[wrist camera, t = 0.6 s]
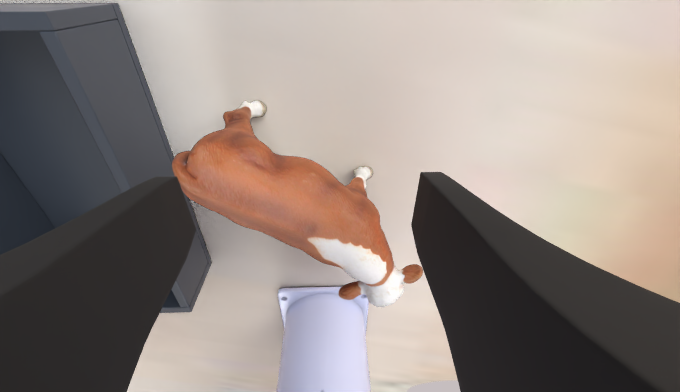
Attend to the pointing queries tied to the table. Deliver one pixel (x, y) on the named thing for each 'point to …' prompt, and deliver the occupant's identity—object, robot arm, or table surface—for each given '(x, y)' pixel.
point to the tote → (78, 126)
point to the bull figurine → (294, 204)
